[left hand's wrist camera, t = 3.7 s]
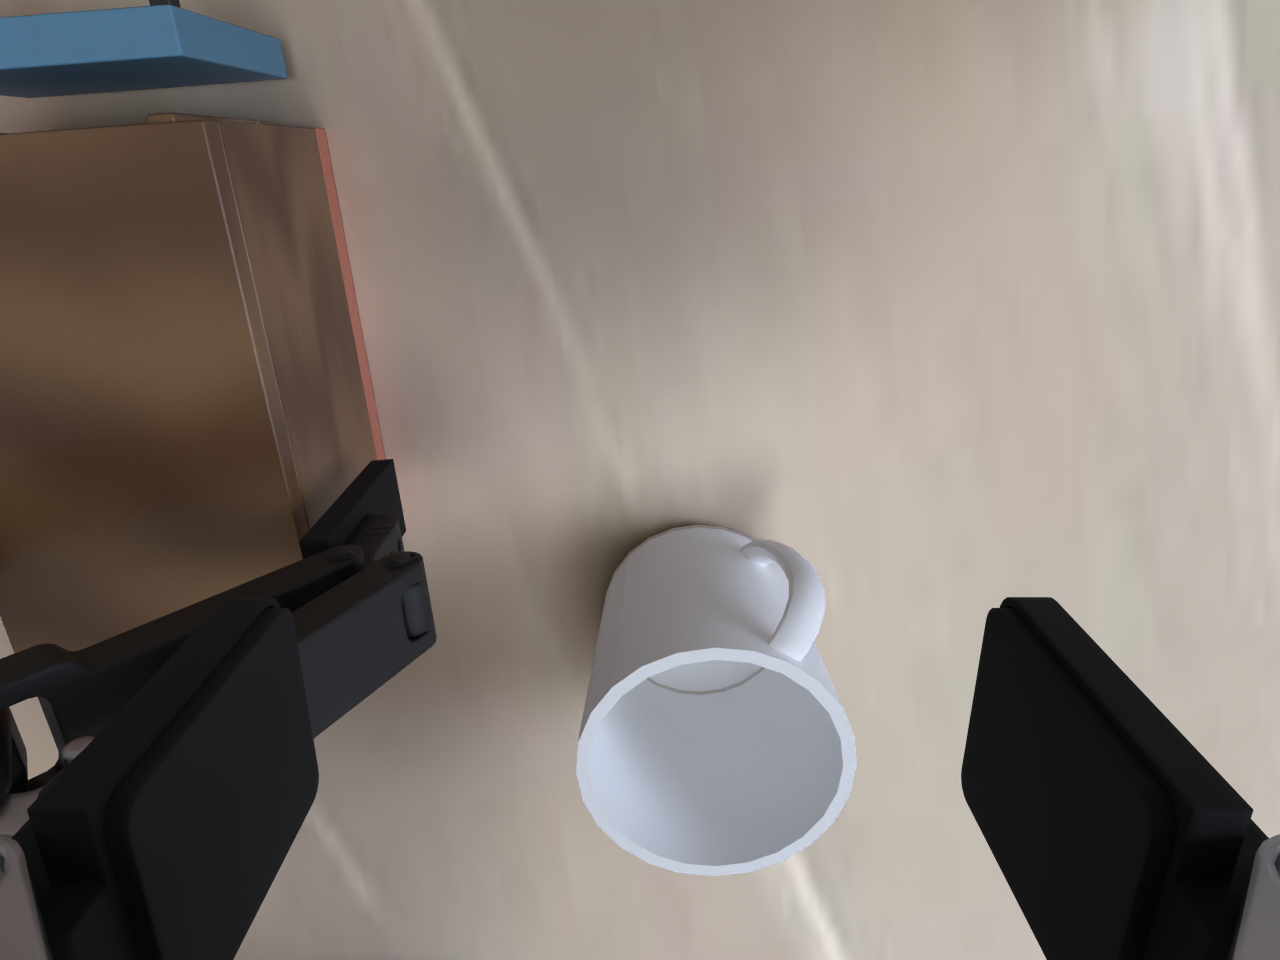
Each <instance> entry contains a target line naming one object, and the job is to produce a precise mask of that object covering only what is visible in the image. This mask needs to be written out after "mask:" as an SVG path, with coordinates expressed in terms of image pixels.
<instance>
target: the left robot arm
mask: <svg viewBox="0 0 1280 960" xmlns="http://www.w3.org/2000/svg"><path fill="white" fill-rule="evenodd" d="M318 781H319V773H318V765H317V759H316V753H315V747H314V740H313V734H312V728H311V722H310V716H309V710H308V704H307V698H306V692H305V686H304V679H303V673H302V667H301V661H300V655H299V649H298V643H297V637H296V631H295V625H294V619H293V615H292V613H291V611H290V610H289V609H288V608H280V605H279V604H278V602H277V600H276V599H274V598H273V597H231V598H227V599H226V600H224V601H223V602H222V603H221V604H220V605H219V607H218V608H217V609H216V610H215V611H214V612H213V613H212V614H211V615H210V616H209V617H208V618H207V619H206V620H205V621H204V622H203V623H202V625H201V626H200V627H199V628H198V629H197V630H196V631H195V632H194V633H193V634H192V635H191V636H190V637H189V638H188V639H187V640H186V641H185V643H184V644H183V645H182V646H181V647H180V648H179V649H178V650H177V651H176V652H175V653H174V654H173V655H172V656H171V657H170V658H169V660H168V661H167V662H166V663H165V664H164V665H163V666H162V667H161V668H160V669H159V670H158V671H157V672H156V673H155V674H154V675H153V676H152V678H151V679H150V680H149V681H148V682H147V683H146V684H145V685H144V686H143V687H142V688H141V689H140V690H139V691H138V692H137V693H136V694H135V696H134V697H133V698H132V699H131V700H130V701H129V702H128V703H127V704H126V705H125V706H124V707H123V708H122V709H121V710H120V711H119V712H118V714H117V715H116V716H115V717H114V718H113V719H112V720H111V721H110V722H109V723H108V724H107V725H106V726H105V727H104V728H103V729H102V730H101V732H100V733H99V734H98V735H97V736H96V737H95V738H94V739H93V740H92V741H91V742H90V743H89V744H88V745H87V746H86V747H85V748H84V750H83V751H82V752H81V753H80V754H79V755H78V756H77V757H76V758H75V759H74V760H73V761H72V762H71V763H70V764H69V765H68V766H67V768H66V769H65V770H64V771H63V772H62V773H61V774H60V775H59V776H58V777H57V778H56V779H55V780H54V781H53V782H52V783H51V784H50V786H49V787H48V788H47V789H46V790H45V791H44V792H43V793H42V794H41V795H40V796H39V797H38V798H37V799H36V800H35V801H34V802H33V804H32V805H31V806H30V807H29V808H28V809H27V813H28V816H29V820H28V821H27V822H26V823H25V824H24V825H23V826H22V827H21V828H20V829H19V830H18V832H17V833H16V834H15V835H14V836H13V837H12V838H8V837H6V836H4V835H0V960H233V959H234V957H235V955H236V953H237V951H238V949H239V947H240V945H241V943H242V941H243V939H244V937H245V935H246V933H247V931H248V929H249V927H250V925H251V924H252V922H253V920H254V918H255V916H256V914H257V912H258V910H259V908H260V906H261V904H262V902H263V900H264V898H265V896H266V894H267V892H268V890H269V888H270V886H271V884H272V882H273V880H274V878H275V876H276V874H277V872H278V870H279V869H280V867H281V865H282V863H283V861H284V859H285V857H286V855H287V853H288V851H289V849H290V847H291V845H292V843H293V841H294V839H295V837H296V835H297V833H298V831H299V829H300V827H301V825H302V823H303V821H304V819H305V817H306V815H307V813H308V812H309V810H310V808H311V806H312V804H313V802H314V799H315V797H316V793H317V789H318ZM961 781H962V789H963V793H964V797H965V799H966V802H967V804H968V806H969V808H970V810H971V812H972V813H973V815H974V817H975V819H976V821H977V823H978V825H979V827H980V829H981V831H982V833H983V835H984V837H985V839H986V841H987V843H988V845H989V847H990V849H991V851H992V853H993V855H994V857H995V859H996V861H997V863H998V865H999V867H1000V869H1001V870H1002V872H1003V874H1004V876H1005V878H1006V880H1007V882H1008V884H1009V886H1010V888H1011V890H1012V892H1013V894H1014V896H1015V898H1016V900H1017V902H1018V904H1019V906H1020V908H1021V910H1022V912H1023V914H1024V916H1025V918H1026V920H1027V922H1028V924H1029V925H1030V927H1031V929H1032V931H1033V933H1034V935H1035V937H1036V939H1037V941H1038V943H1039V945H1040V947H1041V949H1042V951H1043V953H1044V955H1045V957H1046V959H1047V960H1280V835H1276V836H1274V837H1272V838H1268V837H1267V836H1266V835H1265V834H1264V833H1263V832H1262V830H1261V829H1260V828H1259V827H1258V826H1257V825H1256V824H1255V823H1254V822H1253V821H1252V820H1251V816H1252V813H1253V809H1252V808H1251V807H1250V806H1249V805H1248V804H1247V802H1246V801H1245V800H1244V799H1243V798H1242V797H1241V796H1240V795H1239V794H1238V793H1237V792H1236V791H1235V790H1234V789H1233V788H1232V787H1231V786H1230V784H1229V783H1228V782H1227V781H1226V780H1225V779H1224V778H1223V777H1222V776H1221V775H1220V774H1219V773H1218V772H1217V771H1216V770H1215V769H1214V768H1213V766H1212V765H1211V764H1210V763H1209V762H1208V761H1207V760H1206V759H1205V758H1204V757H1203V756H1202V755H1201V754H1200V753H1199V752H1198V751H1197V750H1196V748H1195V747H1194V746H1193V745H1192V744H1191V743H1190V742H1189V741H1188V740H1187V739H1186V738H1185V737H1184V736H1183V735H1182V734H1181V733H1180V732H1179V730H1178V729H1177V728H1176V727H1175V726H1174V725H1173V724H1172V723H1171V722H1170V721H1169V720H1168V719H1167V718H1166V717H1165V716H1164V715H1163V714H1162V712H1161V711H1160V710H1159V709H1158V708H1157V707H1156V706H1155V705H1154V704H1153V703H1152V702H1151V701H1150V700H1149V699H1148V698H1147V697H1146V696H1145V694H1144V693H1143V692H1142V691H1141V690H1140V689H1139V688H1138V687H1137V686H1136V685H1135V684H1134V683H1133V682H1132V681H1131V680H1130V679H1129V678H1128V676H1127V675H1126V674H1125V673H1124V672H1123V671H1122V670H1121V669H1120V668H1119V667H1118V666H1117V665H1116V664H1115V663H1114V662H1113V661H1112V660H1111V658H1110V657H1109V656H1108V655H1107V654H1106V653H1105V652H1104V651H1103V650H1102V649H1101V648H1100V647H1099V646H1098V645H1097V644H1096V643H1095V642H1094V640H1093V639H1092V638H1091V637H1090V636H1089V635H1088V634H1087V633H1086V632H1085V631H1084V630H1083V629H1082V628H1081V627H1080V626H1079V625H1078V623H1077V622H1076V621H1075V620H1074V619H1073V618H1072V617H1071V616H1070V615H1069V614H1068V613H1067V612H1066V611H1065V610H1064V609H1063V608H1062V607H1061V605H1060V604H1059V603H1058V602H1057V601H1056V600H1054V599H1053V598H1049V597H1007V598H1006V599H1004V600H1003V602H1002V604H1001V605H1000V608H992V609H991V610H990V611H989V613H988V615H987V619H986V625H985V631H984V637H983V643H982V649H981V655H980V661H979V667H978V673H977V679H976V686H975V692H974V698H973V704H972V710H971V716H970V722H969V728H968V734H967V740H966V747H965V753H964V759H963V765H962V772H961Z"/></svg>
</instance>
